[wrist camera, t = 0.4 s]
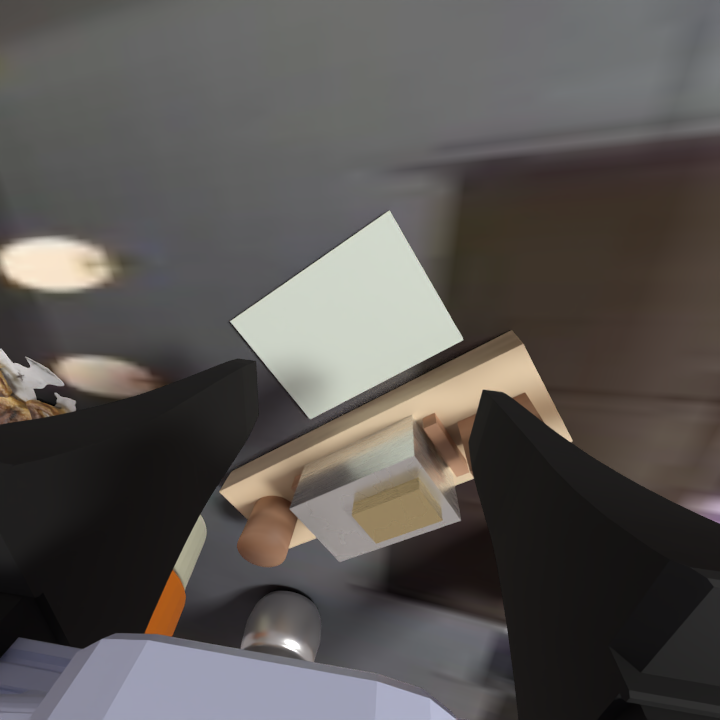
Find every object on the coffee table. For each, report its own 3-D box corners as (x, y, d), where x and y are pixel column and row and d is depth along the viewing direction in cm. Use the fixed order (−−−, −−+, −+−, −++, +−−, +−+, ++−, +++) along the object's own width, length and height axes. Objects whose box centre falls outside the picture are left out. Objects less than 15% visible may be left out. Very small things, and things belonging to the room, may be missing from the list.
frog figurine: (95, 490, 30) (56, 529, 26) (-47, 431, 28) (-109, 464, 25) (114, 389, 25) (68, 420, 21) (-57, 313, 24) (-135, 333, 20)
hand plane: (558, 420, 22) (611, 495, 16) (287, 529, 29) (261, 607, 23) (511, 329, 19) (554, 382, 14) (231, 471, 26) (187, 542, 21)
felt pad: (462, 337, 20) (463, 339, 20) (311, 415, 23) (310, 419, 23) (389, 210, 17) (389, 210, 17) (232, 319, 21) (230, 321, 21)
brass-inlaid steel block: (452, 473, 22) (463, 533, 18) (347, 514, 24) (337, 574, 20) (412, 414, 20) (415, 467, 16) (304, 465, 23) (285, 520, 19)
